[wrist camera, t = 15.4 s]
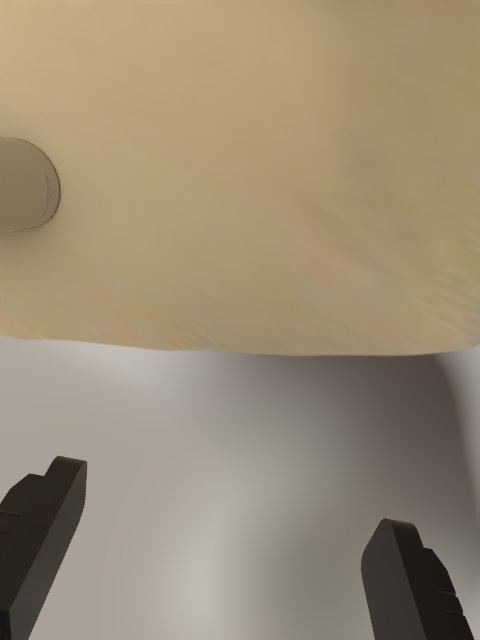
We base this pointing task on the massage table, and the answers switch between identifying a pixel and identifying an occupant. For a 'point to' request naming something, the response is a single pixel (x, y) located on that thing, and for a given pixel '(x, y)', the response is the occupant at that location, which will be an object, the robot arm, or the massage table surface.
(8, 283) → the massage table surface
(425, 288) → the massage table surface
